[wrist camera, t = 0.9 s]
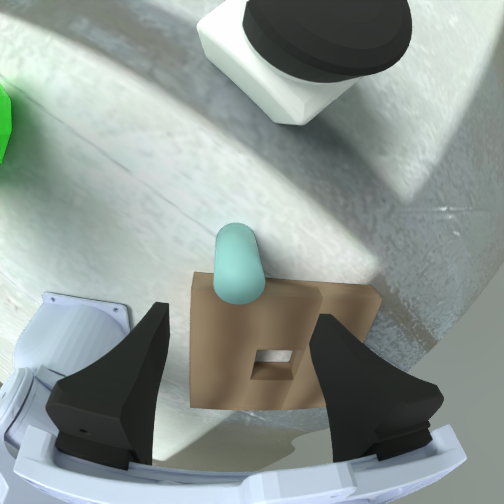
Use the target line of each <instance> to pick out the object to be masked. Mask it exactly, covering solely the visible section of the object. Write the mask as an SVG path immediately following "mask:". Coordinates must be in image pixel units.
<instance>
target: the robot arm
mask: <svg viewBox="0 0 504 504" xmlns="http://www.w3.org/2000/svg"><path fill="white" fill-rule="evenodd" d="M42 298H43V303H42V305H41V306H40V308H39V309H38V310H37V312H36V313H35V314H34V316H33V317H32V319H31V320H30V321H29V323H28V324H27V326H26V327H25V329H24V330H23V332H22V333H21V335H20V336H19V338H18V340H17V342H16V345H15V349H14V355H13V365H14V371H13V372H12V373H11V375H10V376H9V377H8V378H7V380H6V381H5V383H4V384H3V386H2V388H1V389H0V504H387V503H389V502H392V501H394V500H397V499H399V498H401V497H404V496H406V495H408V494H410V493H412V492H415V491H417V490H419V489H421V488H423V487H425V486H427V485H429V484H431V483H433V482H435V481H437V480H439V479H440V478H442V477H443V476H445V475H446V474H448V473H449V472H450V471H452V470H453V469H454V468H456V467H457V466H459V465H460V464H461V463H462V462H464V461H465V460H466V459H467V457H466V455H465V453H464V451H463V449H462V447H461V446H460V443H459V441H458V439H457V437H456V435H455V433H454V432H453V430H452V428H451V426H450V424H447V425H445V426H443V427H440V428H437V429H435V430H433V431H431V432H429V430H428V428H429V427H430V423H429V421H428V420H429V418H431V417H432V416H433V415H434V413H435V412H436V411H437V410H438V409H439V408H440V406H441V405H442V403H443V401H444V397H443V395H442V393H441V392H440V390H439V388H438V387H437V385H434V384H432V383H429V382H426V381H423V380H421V379H418V378H416V377H414V376H411V375H409V374H407V373H405V372H403V371H401V370H400V369H398V368H396V367H394V366H393V365H391V364H389V363H388V362H386V361H385V360H383V359H382V358H381V357H379V356H378V355H376V354H375V353H374V352H372V351H371V350H370V349H369V348H368V347H366V346H365V345H364V344H363V343H362V342H361V341H359V340H358V339H357V338H356V337H355V336H354V335H353V334H352V333H351V332H350V331H349V330H348V329H347V328H346V327H345V326H343V325H342V324H341V323H340V322H339V321H338V320H337V319H336V318H335V317H334V316H333V315H332V314H319V316H318V319H317V322H316V325H315V328H314V331H313V333H312V336H311V339H310V341H309V348H310V354H311V359H312V363H313V366H314V369H315V372H316V375H317V378H318V381H319V384H320V387H321V390H322V393H323V396H324V399H325V403H326V408H327V413H328V418H329V425H330V431H331V440H332V448H333V463H329V464H323V465H317V466H309V467H301V468H292V469H282V470H272V471H262V472H209V471H193V470H182V469H173V468H164V467H157V466H152V448H153V431H154V419H155V410H156V401H157V395H158V390H159V386H160V382H161V378H162V374H163V370H164V366H165V362H166V358H167V354H168V346H169V339H170V325H169V303H161V302H155V303H154V304H153V306H152V307H151V308H150V310H149V311H148V312H147V313H146V315H145V316H144V317H143V318H142V320H141V321H140V322H139V323H138V324H137V325H136V326H135V328H134V329H133V330H132V331H131V332H130V327H129V320H128V313H127V308H126V307H125V306H124V305H122V304H115V303H108V302H101V301H95V300H89V299H83V298H77V297H71V296H65V295H60V294H54V293H49V292H44V293H43V294H42ZM115 308H117V309H118V310H116V309H115Z"/></svg>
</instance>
